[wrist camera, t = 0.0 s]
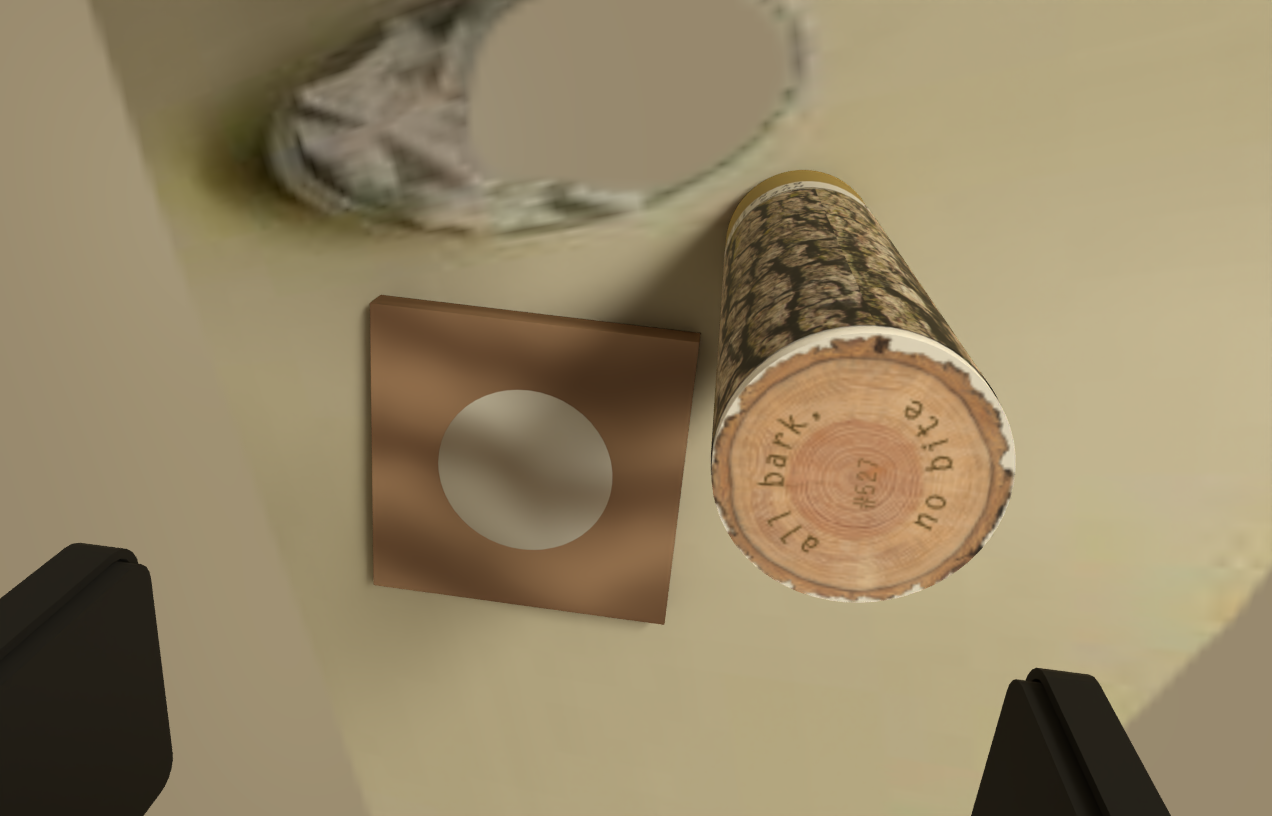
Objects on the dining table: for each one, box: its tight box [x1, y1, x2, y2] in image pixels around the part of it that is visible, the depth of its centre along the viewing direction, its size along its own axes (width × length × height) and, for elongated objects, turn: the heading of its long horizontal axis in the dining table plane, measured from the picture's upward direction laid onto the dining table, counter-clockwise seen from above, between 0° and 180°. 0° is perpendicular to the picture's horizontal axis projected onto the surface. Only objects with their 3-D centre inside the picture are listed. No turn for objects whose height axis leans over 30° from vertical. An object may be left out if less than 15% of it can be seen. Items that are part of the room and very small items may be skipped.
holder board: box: [370, 295, 701, 625], centre depth 50 cm, size 16×16×2 cm
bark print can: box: [711, 170, 1016, 602], centre depth 33 cm, size 7×7×25 cm
